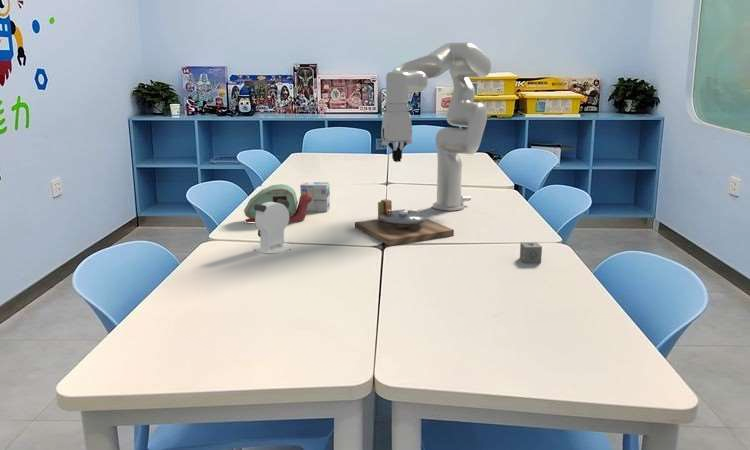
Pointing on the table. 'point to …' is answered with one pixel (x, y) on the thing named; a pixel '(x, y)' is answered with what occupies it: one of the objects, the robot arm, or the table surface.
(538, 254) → the dice cube
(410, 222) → the flange plate
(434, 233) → the pivot base
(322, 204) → the light bulb box
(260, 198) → the toy snail
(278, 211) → the white mount stand
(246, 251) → the table surface
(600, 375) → the table surface
